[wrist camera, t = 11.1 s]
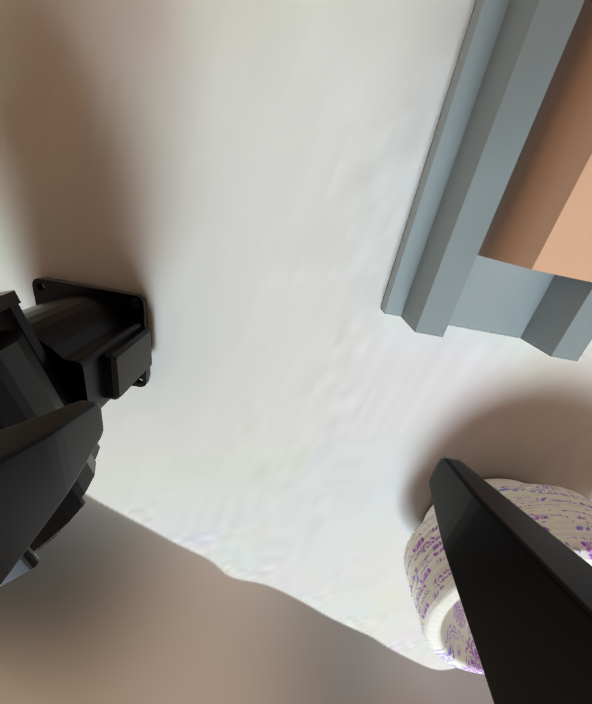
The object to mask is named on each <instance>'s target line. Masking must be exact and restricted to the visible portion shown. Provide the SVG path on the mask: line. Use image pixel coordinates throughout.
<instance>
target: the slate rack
mask: <svg viewBox="0 0 592 704" xmlns="http://www.w3.org/2000/svg"><path fill="white" fill-rule="evenodd" d="M584 1H585V0H476V4H475V7H474V10H473V13H472V16H471V20H470V23H469V26H468V29H467V32H466V36H465V39H464V42H463V45H462V49H461V52H460V55H459V58H458V61H457V65H456V68H455V71H454V74H453V77H452V81H451V84H450V87H449V90H448V93H447V97H446V100H445V103H444V106H443V109H442V113H441V116H440V119H439V122H438V125H437V129H436V132H435V135H434V138H433V142H432V145H431V148H430V151H429V154H428V158H427V161H426V164H425V167H424V170H423V174H422V177H421V180H420V183H419V186H418V190H417V193H416V196H415V199H414V202H413V206H412V209H411V212H410V215H409V219H408V222H407V225H406V228H405V231H404V235H403V238H402V241H401V244H400V247H399V251H398V254H397V257H396V260H395V263H394V267H393V270H392V273H391V276H390V279H389V283H388V286H387V289H386V292H385V295H384V299H383V302H382V305H381V310H382V311H383V312H384V313H385V314H390V315H396V316H401V317H402V318H403V319H404V320H405V322H406V323H407V324H408V325H409V326H410V327H411V328H412V329H413V330H414V332H418V333H423V334H429V335H434V336H440V337H443V335H444V333H445V331H446V328H447V326H448V325H451V326H456V327H462V328H467V329H473V330H478V331H484V332H489V333H495V334H500V335H506V336H511V337H517V338H521V339H523V340H524V341H526V342H528V343H529V344H531V345H533V346H534V347H536V348H538V349H539V350H541V351H543V352H544V353H546V354H548V355H549V356H551V357H557V358H562V359H568V360H574V361H578V359H579V358H580V356H581V355H582V353H583V352H584V350H585V349H586V347H587V346H588V344H589V343H590V341H591V340H592V282H588V281H584V280H579V279H574V278H569V277H564V276H560V275H555V274H550V273H545V272H541V271H536V270H531V269H527V268H524V267H520V266H516V265H512V264H509V263H505V262H501V261H498V260H494V259H490V258H486V257H483V256H479V255H478V252H479V250H480V248H481V245H482V243H483V241H484V238H485V236H486V233H487V231H488V229H489V226H490V224H491V222H492V219H493V217H494V214H495V212H496V210H497V207H498V205H499V203H500V200H501V198H502V196H503V193H504V191H505V188H506V186H507V184H508V181H509V179H510V177H511V174H512V172H513V169H514V167H515V165H516V162H517V160H518V158H519V155H520V153H521V150H522V148H523V146H524V143H525V141H526V139H527V136H528V134H529V132H530V129H531V127H532V124H533V122H534V120H535V117H536V115H537V113H538V110H539V108H540V105H541V103H542V101H543V98H544V96H545V94H546V91H547V89H548V86H549V84H550V82H551V79H552V77H553V75H554V72H555V70H556V67H557V65H558V63H559V60H560V58H561V56H562V53H563V51H564V49H565V46H566V44H567V41H568V39H569V37H570V34H571V32H572V30H573V27H574V25H575V22H576V20H577V18H578V15H579V13H580V11H581V8H582V6H583V3H584Z"/></svg>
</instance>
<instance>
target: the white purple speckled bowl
mask: <svg viewBox="0 0 592 704" xmlns="http://www.w3.org/2000/svg"><path fill="white" fill-rule="evenodd" d="M484 480H485V481H486V482H487V483H489V484H490V485H491V486H492V487H494V488H495V489H496V490H497V491H499V492H500V493H501V494H502V495H504V496H505V497H506V498H507V499H509V500H510V501H511V502H512V503H514V504H515V505H516V506H517V507H519V508H520V509H521V510H522V511H524V512H525V513H526V514H527V515H529V516H530V517H531V518H532V519H534V520H535V521H536V522H537V523H539V524H540V525H541V526H542V527H544V528H545V529H546V530H547V531H549V532H550V533H551V534H552V535H554V536H555V537H556V538H557V539H559V540H560V541H561V542H562V543H564V544H565V545H566V546H567V547H569V548H570V549H571V550H572V551H574V552H575V553H576V554H578V555H579V556H580V557H581V558H583V559H584V560H585V561H586V562H588V563H589V564H590V565H591V566H592V502H591V501H590V500H589V499H588V498H587V497H585V496H583V495H582V494H579V493H577V492H575V491H572V490H569V489H566V488H563V487H559V486H552V485H544V484H526V483H523V482H520V481H516V480H510V479H484ZM404 567H405V572H406V576H407V580H408V584H409V587H410V590H411V595H412V598H413V602H414V604H415V608H416V611H417V614H418V616H419V620H420V624H421V629H422V632H423V634H424V637H425V639H426V641H427V643H428V645H429V646H430V647H431V649H432V650H433V652H434V653H435V654H436V655H437V656H438V657H440V658H441V659H442V660H444V661H445V662H447V663H449V664H451V665H453V666H455V667H457V668H460V669H463V670H465V671H469V672H473V673H479V674H484V671H483V668H482V665H481V662H480V659H479V656H478V653H477V650H476V646H475V643H474V640H473V637H472V634H471V631H470V628H469V625H468V622H467V619H466V616H465V613H464V610H463V607H462V604H461V601H460V597H459V594H458V591H457V588H456V585H455V582H454V579H453V576H452V573H451V570H450V567H449V564H448V561H447V558H446V554H445V551H444V548H443V544H442V540H441V537H440V532H439V528H438V523H437V519H436V514H435V510H434V506H433V505H432V506H431V508H430V509H429V510H428V512H427V514H426V516H425V518H424V520H423V523H422V524H421V525H420V526H419V527H418V528H417V529H416V530H415V532H414V533H413V534H412V536H411V537H410V539H409V541H408V543H407V545H406V549H405V553H404ZM484 675H485V674H484Z"/></svg>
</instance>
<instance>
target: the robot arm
mask: <svg viewBox="0 0 592 704" xmlns="http://www.w3.org/2000/svg"><path fill="white" fill-rule="evenodd" d="M42 283H43V284H44V285H45V287H46V289H45V288H44V287H43V286H42ZM32 286H33V291H34V296H35V301H36V306H33V307H31V308H28V309H25V310H21V308H20V306H19V303H21V302H20V300H19V298H18V296H17V294H16V293H15V291H14V290H12V291H5V292H0V587H1V586H2V585H4V584H6V583H8V582H9V581H11V580H13V579H15V578H17V577H19V576H20V575H22V574H24V573H25V572H27V571H29V570H31V569H32V568H34V567H35V566H36V565H37V564H38V562H39V557H38V556H37V555H36V554H35V552H36V551H37V550H39V549H40V548H42V547H43V546H44V545H45V544H47V543H48V542H49V541H50V540H51V539H53V538H54V537H55V536H56V535H57V534H58V533H59V532H60V531H61V530H62V529H63V528H64V527H65V526H66V525H68V524H69V523H70V521H71V520H72V519H73V518H74V517H75V516H76V515H77V513H78V512H79V511H80V510H81V509H82V507H83V505H84V504H85V498H84V497H83V495H84V494H85V492H86V490H87V488H88V487H89V485H90V483H91V481H92V479H93V477H94V475H95V465H96V461H95V459H96V456H97V454H98V451H99V449H100V446H99V445H98V441H99V440H100V438H101V436H102V433H103V421H102V413H101V408H102V407H103V406H104V405H105V404H106V403H107V402H108V401H109V400H110V399H114V400H116V399H118V398H119V397H121V396H122V395H123V394H124V393H125V392H126V391H127V390H128V389H129V388H130V387H131V386H138V387H143V386H145V385H146V384H147V383H148V381H149V367H150V366H151V364H152V357H151V332H150V330H149V329H148V325H147V302H146V299H145V298H144V297H143V296H142V295H140V294H137V293H131V292H126V291H120V290H114V289H109V288H103V287H98V286H92V285H86V284H81V283H75V282H69V281H64V280H58V279H52V278H47V277H41V278H37V279H35V280H34V281H33V282H32ZM135 299H136V300H138V302H139V304H140V305H139V306H138V305H136V304H135V302H134V300H135ZM139 378H141V379H142V380H143V381H141V380H140V379H139ZM429 488H430V492H431V497H432V501H433V506H434V510H435V514H436V519H437V523H438V528H439V532H440V537H441V540H442V544H443V548H444V551H445V554H446V558H447V561H448V564H449V567H450V570H451V573H452V576H453V579H454V582H455V585H456V588H457V591H458V594H459V597H460V601H461V604H462V607H463V610H464V613H465V616H466V619H467V622H468V625H469V628H470V631H471V634H472V637H473V640H474V643H475V646H476V650H477V653H478V656H479V659H480V662H481V665H482V668H483V671H484V674H485V677H486V680H487V683H488V686H489V689H490V692H491V695H492V698H493V702H494V704H592V566H591V565H590V564H589V563H588V562H586V561H585V560H584V559H583V558H581V557H580V556H579V555H578V554H576V553H575V552H574V551H572V550H571V549H570V548H569V547H567V546H566V545H565V544H564V543H562V542H561V541H560V540H559V539H557V538H556V537H555V536H554V535H552V534H551V533H550V532H549V531H547V530H546V529H545V528H544V527H542V526H541V525H540V524H539V523H537V522H536V521H535V520H534V519H532V518H531V517H530V516H529V515H527V514H526V513H525V512H524V511H522V510H521V509H520V508H519V507H517V506H516V505H515V504H514V503H512V502H511V501H510V500H509V499H507V498H506V497H505V496H504V495H502V494H501V493H500V492H499V491H497V490H496V489H495V488H494V487H492V486H491V485H490V484H489V483H487V482H486V481H485V480H484V479H482V478H481V477H480V476H479V475H477V474H476V473H475V472H474V471H472V470H471V469H470V468H469V467H467V466H466V465H465V464H464V463H462V462H461V461H460V460H458V459H455V458H449V457H442V458H441V459H440V460H439V461H438V463H437V465H436V467H435V469H434V471H433V473H432V475H431V477H430V480H429Z"/></svg>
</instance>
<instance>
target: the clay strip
mask: <svg viewBox="0 0 592 704" xmlns="http://www.w3.org/2000/svg"><path fill="white" fill-rule="evenodd" d="M478 255H479V256H483V257H486V258H490V259H494V260H498V261H501V262H505V263H509V264H512V265H516V266H520V267H524V268H527V269H531V270H536V271H541V272H545V273H550V274H555V275H560V276H564V277H569V278H574V279H579V280H584V281H588V282H592V0H585V1H584V3H583V6H582V8H581V11H580V13H579V15H578V18H577V20H576V22H575V25H574V27H573V30H572V32H571V34H570V37H569V39H568V41H567V44H566V46H565V49H564V51H563V53H562V56H561V58H560V60H559V63H558V65H557V67H556V70H555V72H554V75H553V77H552V79H551V82H550V84H549V86H548V89H547V91H546V94H545V96H544V98H543V101H542V103H541V105H540V108H539V110H538V113H537V115H536V117H535V120H534V122H533V124H532V127H531V129H530V132H529V134H528V136H527V139H526V141H525V143H524V146H523V148H522V150H521V153H520V155H519V158H518V160H517V162H516V165H515V167H514V169H513V172H512V174H511V177H510V179H509V181H508V184H507V186H506V188H505V191H504V193H503V196H502V198H501V200H500V203H499V205H498V207H497V210H496V212H495V214H494V217H493V219H492V222H491V224H490V226H489V229H488V231H487V233H486V236H485V238H484V241H483V243H482V245H481V248H480V250H479V252H478Z"/></svg>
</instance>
